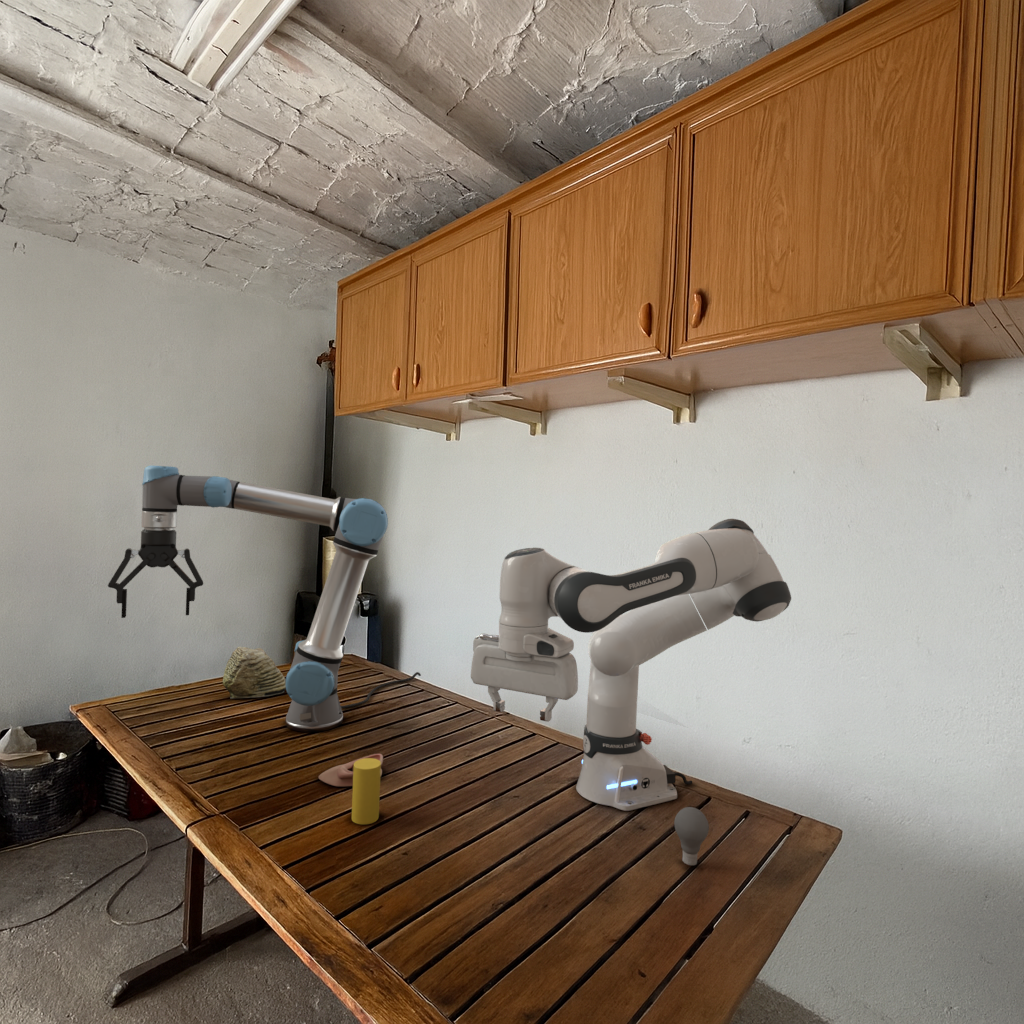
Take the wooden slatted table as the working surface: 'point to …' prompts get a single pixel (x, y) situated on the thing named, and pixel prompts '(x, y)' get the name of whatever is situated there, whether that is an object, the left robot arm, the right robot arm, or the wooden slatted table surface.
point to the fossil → (252, 674)
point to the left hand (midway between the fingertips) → (156, 615)
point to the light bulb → (691, 832)
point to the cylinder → (366, 791)
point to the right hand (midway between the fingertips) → (521, 715)
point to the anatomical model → (344, 772)
